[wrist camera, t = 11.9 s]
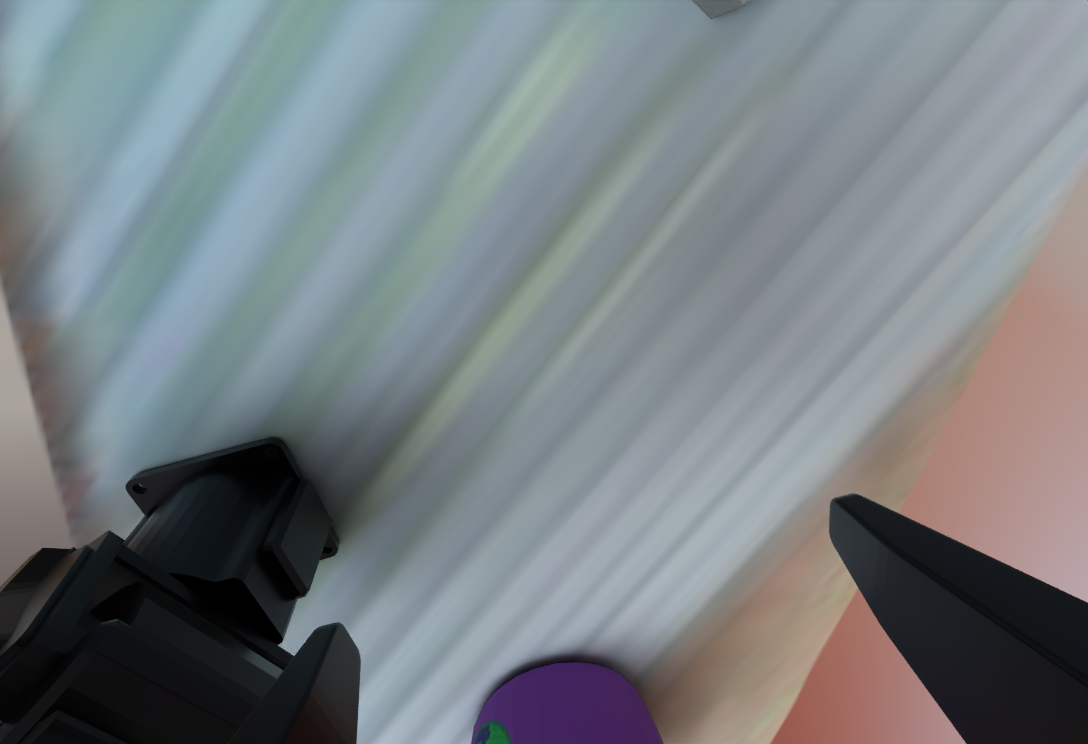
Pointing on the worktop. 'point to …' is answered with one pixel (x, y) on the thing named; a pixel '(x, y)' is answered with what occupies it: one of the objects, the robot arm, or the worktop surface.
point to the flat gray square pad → (718, 6)
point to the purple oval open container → (566, 709)
